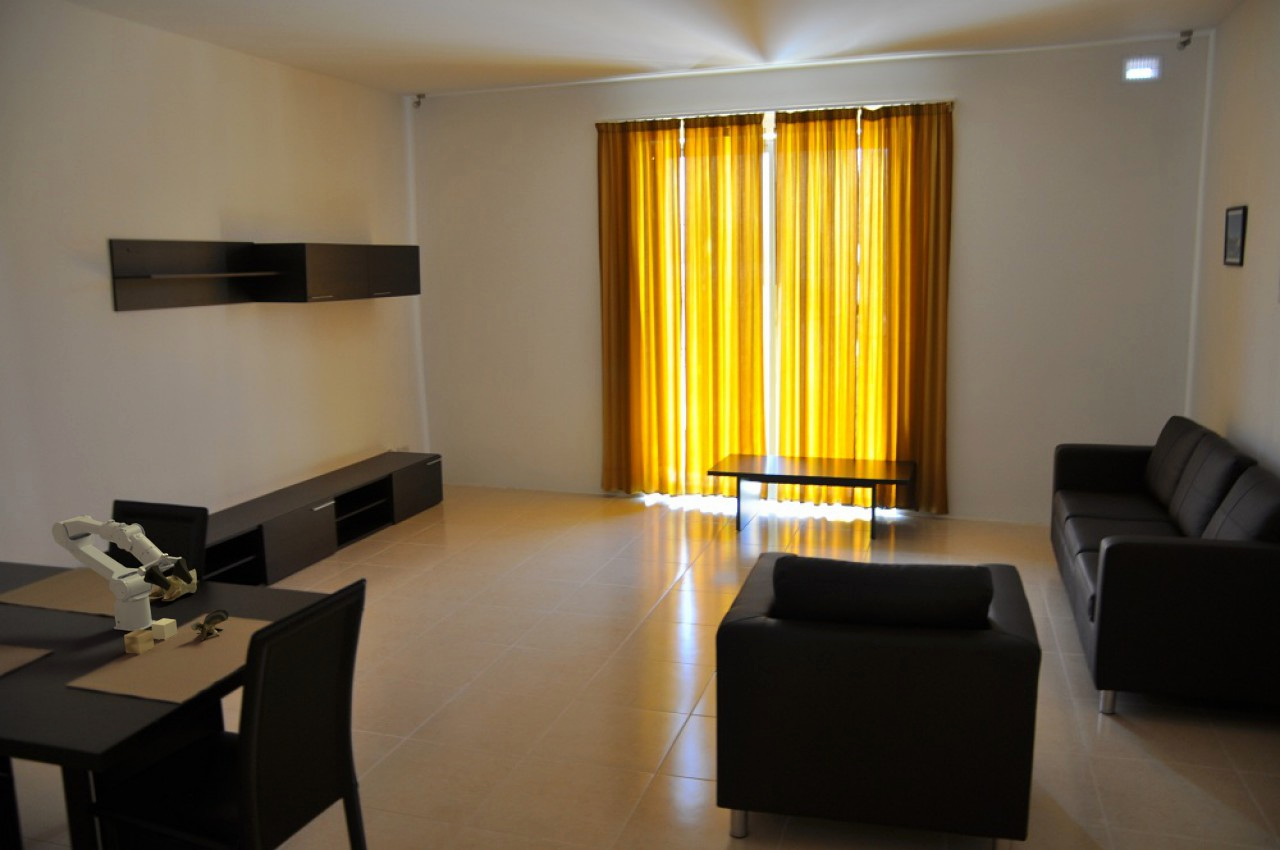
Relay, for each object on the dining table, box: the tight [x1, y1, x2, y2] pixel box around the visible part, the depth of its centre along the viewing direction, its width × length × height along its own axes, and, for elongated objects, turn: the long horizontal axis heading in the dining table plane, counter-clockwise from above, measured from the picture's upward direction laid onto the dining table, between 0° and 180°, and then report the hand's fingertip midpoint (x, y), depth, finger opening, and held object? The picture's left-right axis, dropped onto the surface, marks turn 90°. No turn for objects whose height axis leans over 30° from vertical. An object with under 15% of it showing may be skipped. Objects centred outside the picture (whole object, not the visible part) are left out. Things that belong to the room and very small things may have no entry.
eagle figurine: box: [190, 608, 230, 641], centre depth 296 cm, size 8×8×10 cm
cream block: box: [151, 617, 178, 641], centre depth 297 cm, size 4×4×4 cm
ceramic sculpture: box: [149, 568, 198, 602], centre depth 330 cm, size 11×9×15 cm
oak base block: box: [123, 629, 155, 655], centre depth 287 cm, size 5×5×5 cm
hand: (180, 584), depth 294 cm, fingers open, 7 cm apart
